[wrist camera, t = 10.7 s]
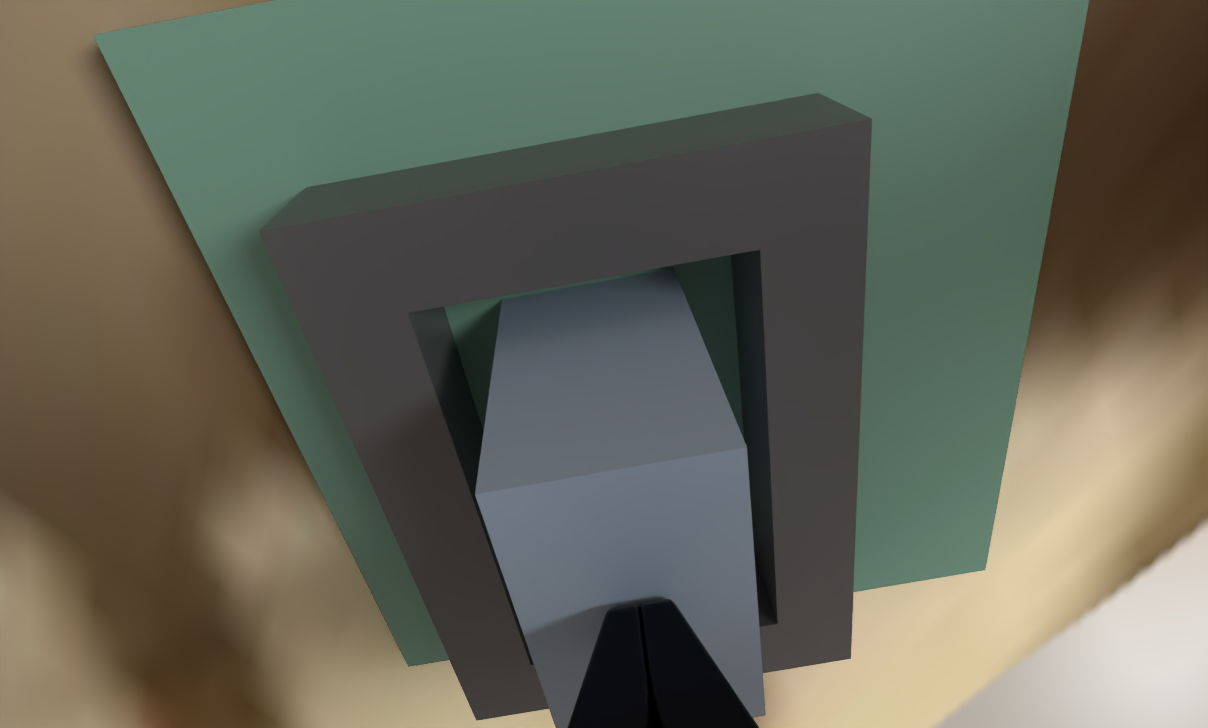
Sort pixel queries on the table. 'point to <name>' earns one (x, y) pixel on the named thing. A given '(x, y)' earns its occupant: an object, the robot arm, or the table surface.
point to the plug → (617, 478)
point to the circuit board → (634, 98)
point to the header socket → (581, 253)
